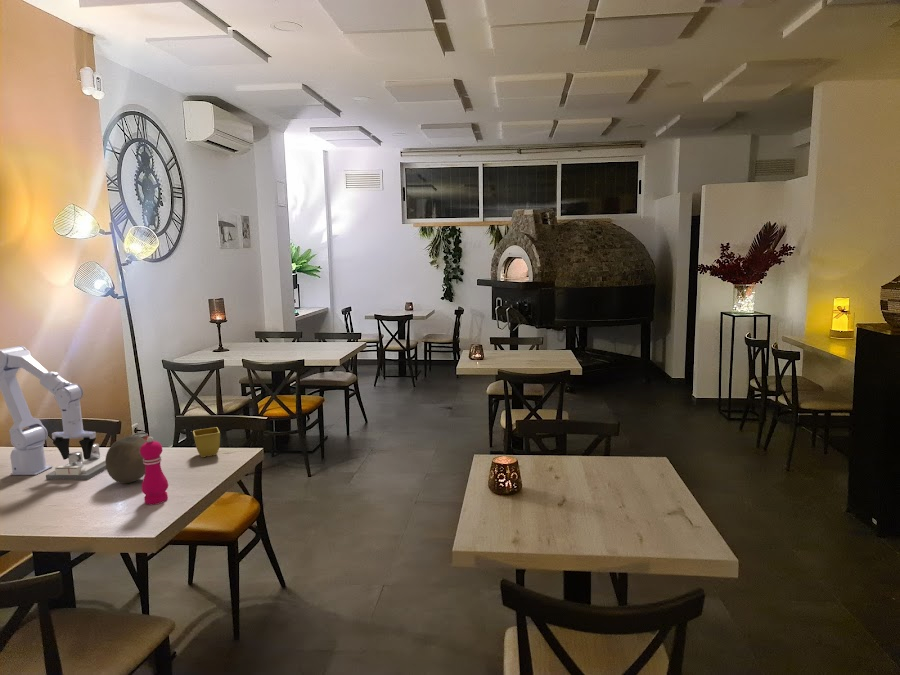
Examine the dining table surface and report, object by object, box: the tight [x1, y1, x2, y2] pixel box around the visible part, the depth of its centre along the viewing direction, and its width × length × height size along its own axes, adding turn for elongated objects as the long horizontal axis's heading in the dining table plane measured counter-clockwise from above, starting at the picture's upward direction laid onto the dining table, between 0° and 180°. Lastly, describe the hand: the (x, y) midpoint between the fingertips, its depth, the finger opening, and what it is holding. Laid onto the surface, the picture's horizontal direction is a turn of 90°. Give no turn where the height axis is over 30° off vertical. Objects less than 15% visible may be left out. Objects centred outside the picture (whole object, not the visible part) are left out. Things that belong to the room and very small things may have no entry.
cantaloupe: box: [105, 435, 147, 484], centre depth 195 cm, size 14×14×15 cm
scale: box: [45, 456, 107, 480], centre depth 208 cm, size 15×17×4 cm
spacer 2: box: [87, 443, 101, 461], centre depth 212 cm, size 4×4×5 cm
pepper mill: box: [140, 436, 169, 505], centre depth 179 cm, size 7×7×20 cm
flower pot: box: [192, 426, 221, 458], centre depth 220 cm, size 9×9×9 cm
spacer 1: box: [67, 451, 84, 468], centre depth 204 cm, size 4×4×5 cm
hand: (76, 458), depth 204 cm, fingers open, 7 cm apart
